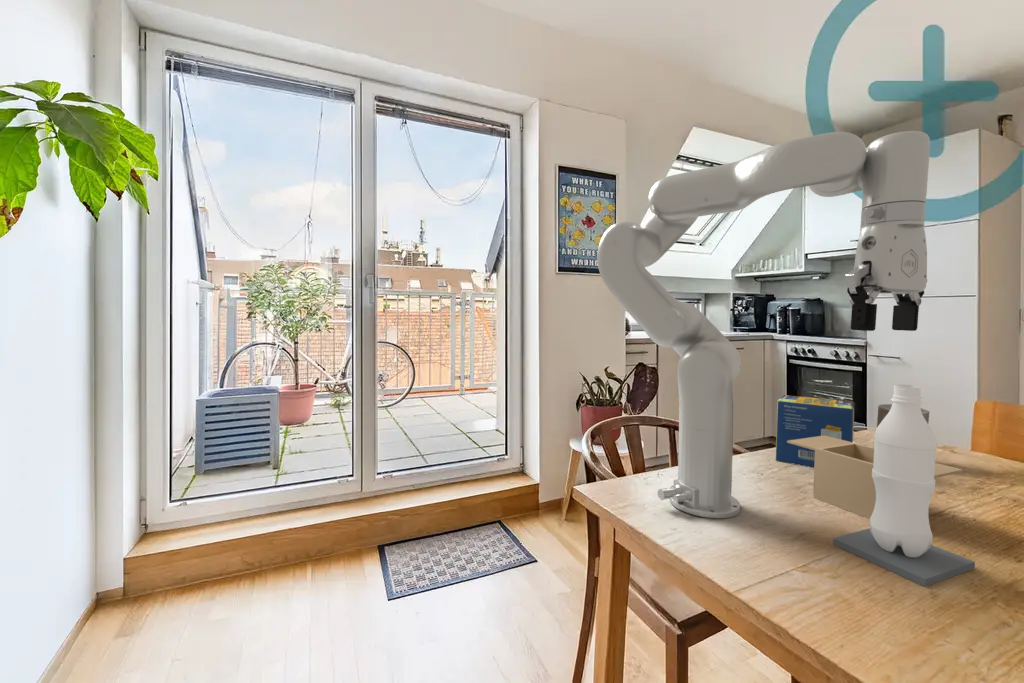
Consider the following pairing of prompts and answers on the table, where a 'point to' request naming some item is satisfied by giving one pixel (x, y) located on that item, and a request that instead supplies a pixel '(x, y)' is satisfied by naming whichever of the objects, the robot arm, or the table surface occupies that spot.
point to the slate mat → (906, 559)
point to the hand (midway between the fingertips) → (883, 330)
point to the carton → (848, 473)
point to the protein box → (810, 425)
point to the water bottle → (903, 475)
